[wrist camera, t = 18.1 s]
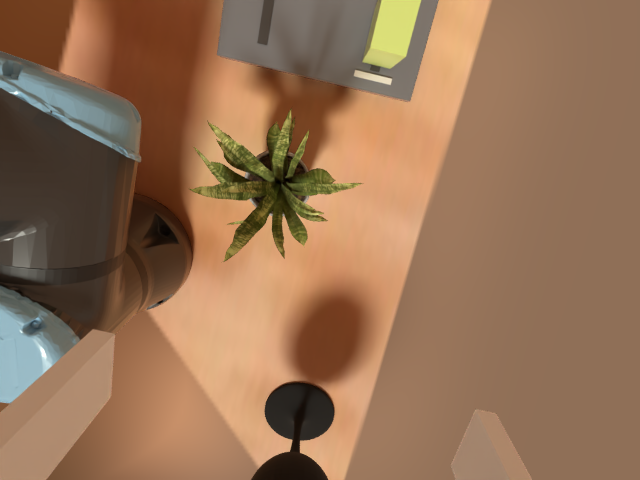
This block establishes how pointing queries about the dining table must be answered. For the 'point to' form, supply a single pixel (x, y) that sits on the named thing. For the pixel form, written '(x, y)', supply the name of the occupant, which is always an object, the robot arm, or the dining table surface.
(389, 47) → the fader lime
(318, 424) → the wine glass
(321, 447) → the dining table surface
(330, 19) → the mixing board
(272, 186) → the house plant
